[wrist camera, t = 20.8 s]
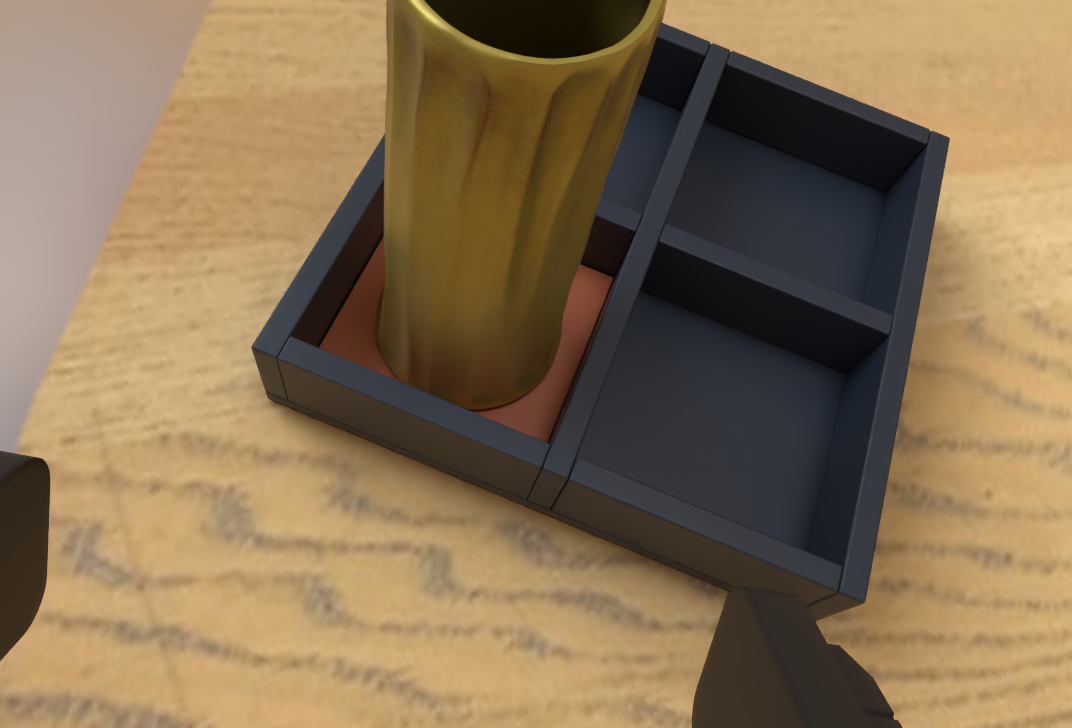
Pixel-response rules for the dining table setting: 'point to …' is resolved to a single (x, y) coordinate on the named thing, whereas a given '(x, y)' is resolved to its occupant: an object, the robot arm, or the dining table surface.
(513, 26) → the vase
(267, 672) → the dining table surface
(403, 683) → the dining table surface
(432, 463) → the grid
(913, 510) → the dining table surface
